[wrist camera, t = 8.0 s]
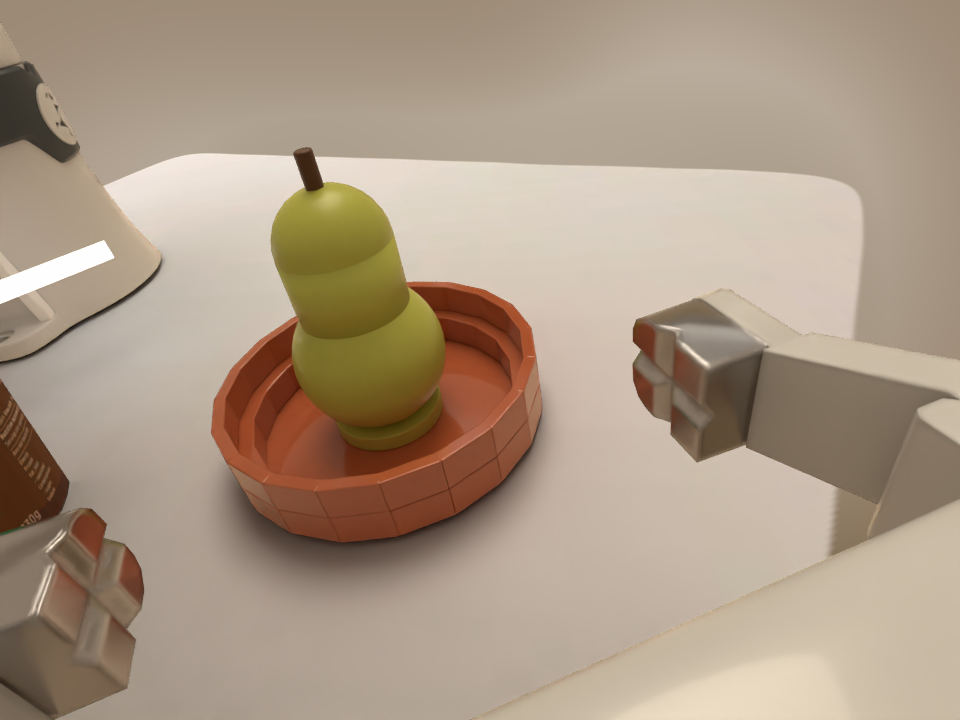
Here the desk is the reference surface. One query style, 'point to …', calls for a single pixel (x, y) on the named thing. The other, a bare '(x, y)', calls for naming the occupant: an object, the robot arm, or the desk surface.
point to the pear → (356, 315)
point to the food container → (26, 470)
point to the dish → (396, 472)
